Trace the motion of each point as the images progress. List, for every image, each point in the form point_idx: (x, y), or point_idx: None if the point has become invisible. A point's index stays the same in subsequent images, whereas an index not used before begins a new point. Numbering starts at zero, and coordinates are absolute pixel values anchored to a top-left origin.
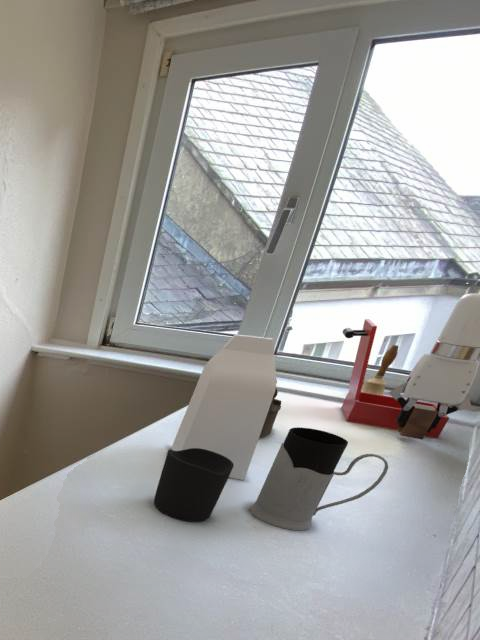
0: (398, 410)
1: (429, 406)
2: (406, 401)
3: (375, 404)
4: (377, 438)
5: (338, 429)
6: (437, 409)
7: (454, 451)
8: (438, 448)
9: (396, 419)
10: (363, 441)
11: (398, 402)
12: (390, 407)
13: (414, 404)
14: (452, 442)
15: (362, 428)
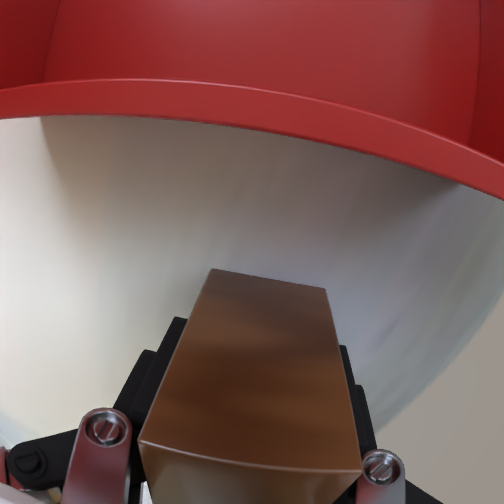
0: (185, 119)
1: (308, 488)
2: (84, 474)
3: (12, 93)
4: (129, 357)
5: (19, 301)
6: (353, 495)
7: (407, 374)
8: (359, 372)
9: (143, 354)
10: (92, 401)
11: (47, 444)
12: (102, 111)
13: (162, 478)
14: (493, 228)
15: (83, 219)
